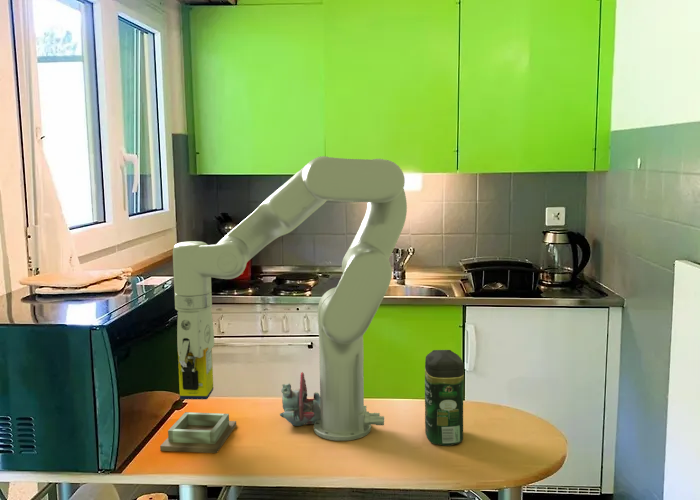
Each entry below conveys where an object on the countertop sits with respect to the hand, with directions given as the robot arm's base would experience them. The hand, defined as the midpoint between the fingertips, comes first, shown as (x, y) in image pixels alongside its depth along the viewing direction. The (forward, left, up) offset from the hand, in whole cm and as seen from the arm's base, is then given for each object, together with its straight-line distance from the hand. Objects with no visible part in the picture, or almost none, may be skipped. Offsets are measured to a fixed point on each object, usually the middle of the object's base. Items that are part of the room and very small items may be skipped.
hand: (196, 382), depth 145 cm
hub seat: (0, 0, -12) cm, 12 cm away
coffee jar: (-52, -5, -13) cm, 54 cm away
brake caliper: (-20, -11, -12) cm, 26 cm away
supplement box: (0, 0, -3) cm, 3 cm away
